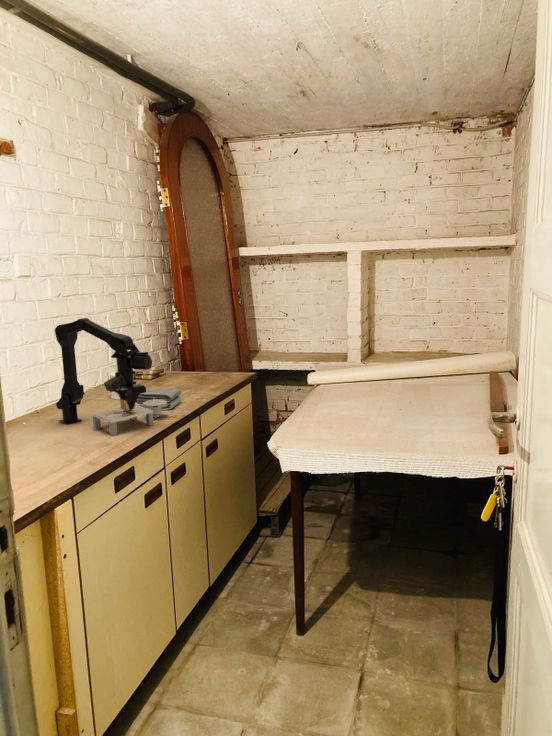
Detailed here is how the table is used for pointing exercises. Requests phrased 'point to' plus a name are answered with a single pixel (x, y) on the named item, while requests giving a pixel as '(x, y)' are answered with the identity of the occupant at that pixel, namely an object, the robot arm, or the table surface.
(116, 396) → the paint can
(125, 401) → the peg
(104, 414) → the keyhole stand
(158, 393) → the towel
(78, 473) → the table surface
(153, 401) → the showerhead
